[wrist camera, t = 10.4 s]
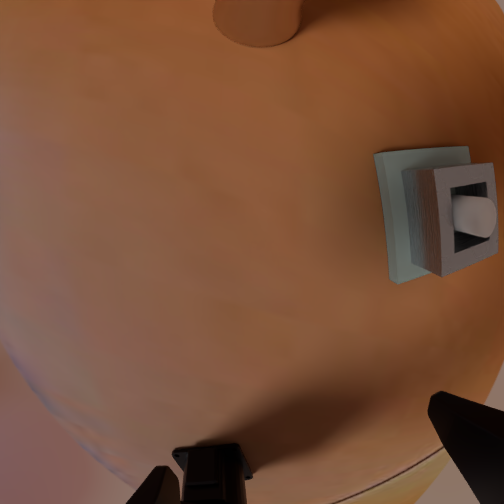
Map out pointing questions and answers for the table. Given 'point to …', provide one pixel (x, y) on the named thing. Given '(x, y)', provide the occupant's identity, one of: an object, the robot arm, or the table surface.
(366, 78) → the table surface
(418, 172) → the square ring block
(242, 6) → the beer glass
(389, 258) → the shaft block
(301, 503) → the table surface
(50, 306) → the table surface
